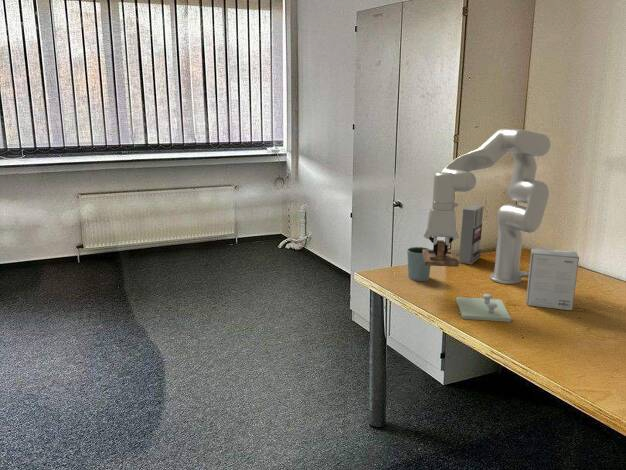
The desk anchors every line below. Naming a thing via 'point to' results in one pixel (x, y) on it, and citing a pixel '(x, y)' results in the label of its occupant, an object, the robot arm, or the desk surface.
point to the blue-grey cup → (417, 264)
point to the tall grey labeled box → (471, 234)
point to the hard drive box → (552, 279)
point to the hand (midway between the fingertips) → (440, 253)
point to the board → (483, 308)
